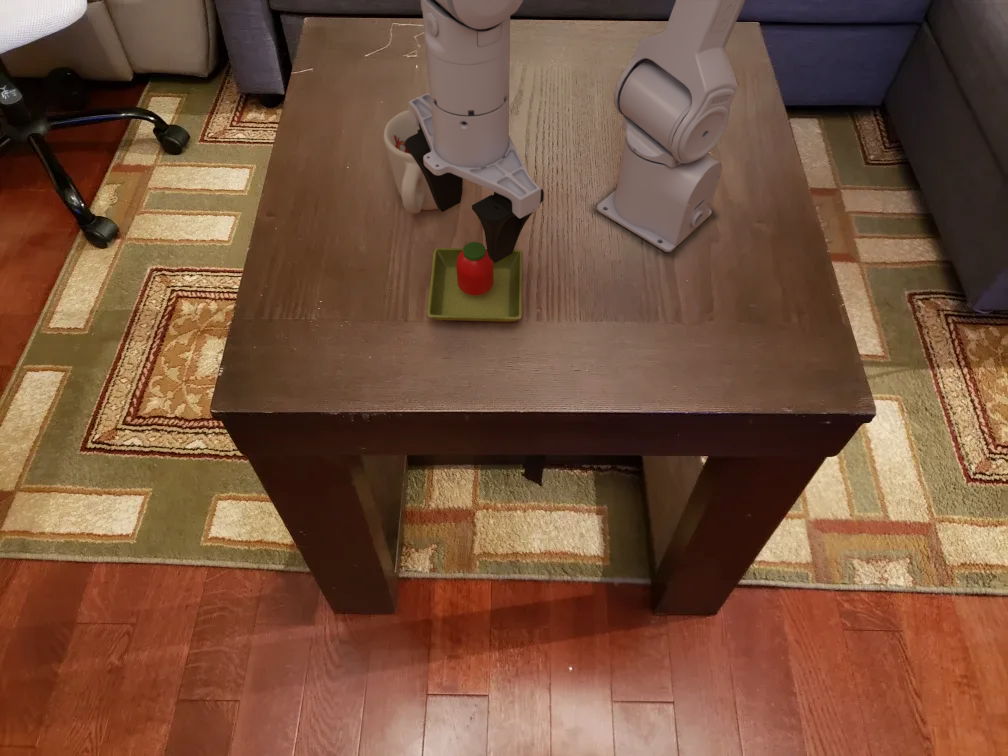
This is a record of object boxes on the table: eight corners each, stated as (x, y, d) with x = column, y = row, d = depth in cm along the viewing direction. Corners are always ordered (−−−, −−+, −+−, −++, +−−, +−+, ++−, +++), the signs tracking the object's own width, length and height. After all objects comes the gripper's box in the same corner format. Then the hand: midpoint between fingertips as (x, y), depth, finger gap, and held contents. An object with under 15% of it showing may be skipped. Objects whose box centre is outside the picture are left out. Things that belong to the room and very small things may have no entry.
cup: (450, 243, 75) (446, 182, 69) (375, 232, 76) (363, 170, 69) (474, 174, 81) (472, 111, 75) (404, 164, 82) (395, 101, 75)
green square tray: (521, 332, 69) (521, 318, 67) (427, 330, 69) (426, 316, 67) (522, 263, 74) (522, 249, 72) (435, 261, 74) (433, 246, 72)
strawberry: (492, 267, 71) (492, 235, 67) (494, 294, 69) (494, 262, 65) (456, 269, 70) (454, 236, 67) (458, 296, 69) (456, 264, 65)
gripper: (368, 64, 55) (390, 203, 66) (486, 167, 48) (488, 302, 60) (445, 32, 57) (454, 171, 68) (567, 126, 51) (555, 262, 62)
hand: (474, 229), depth 64 cm, fingers open, 7 cm apart
